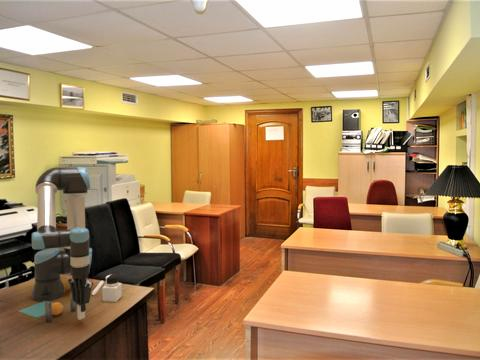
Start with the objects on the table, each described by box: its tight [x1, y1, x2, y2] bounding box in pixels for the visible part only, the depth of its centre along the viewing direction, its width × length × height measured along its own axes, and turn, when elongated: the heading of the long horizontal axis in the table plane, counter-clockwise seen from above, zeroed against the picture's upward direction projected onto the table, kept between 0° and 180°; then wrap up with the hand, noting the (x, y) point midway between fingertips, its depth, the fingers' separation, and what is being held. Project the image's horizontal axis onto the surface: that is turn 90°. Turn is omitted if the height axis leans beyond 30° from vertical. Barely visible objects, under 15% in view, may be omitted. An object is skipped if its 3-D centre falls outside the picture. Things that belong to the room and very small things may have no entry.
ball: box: [52, 301, 64, 316], centre depth 174 cm, size 6×6×6 cm
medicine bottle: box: [101, 273, 123, 303], centre depth 192 cm, size 7×7×12 cm
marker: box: [91, 280, 105, 296], centre depth 205 cm, size 18×2×2 cm, turn 5°
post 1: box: [44, 300, 53, 324], centre depth 167 cm, size 3×3×9 cm
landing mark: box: [17, 301, 65, 319], centre depth 180 cm, size 14×14×1 cm
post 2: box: [69, 291, 77, 313], centre depth 178 cm, size 3×3×9 cm
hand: (81, 318), depth 167 cm, fingers closed
